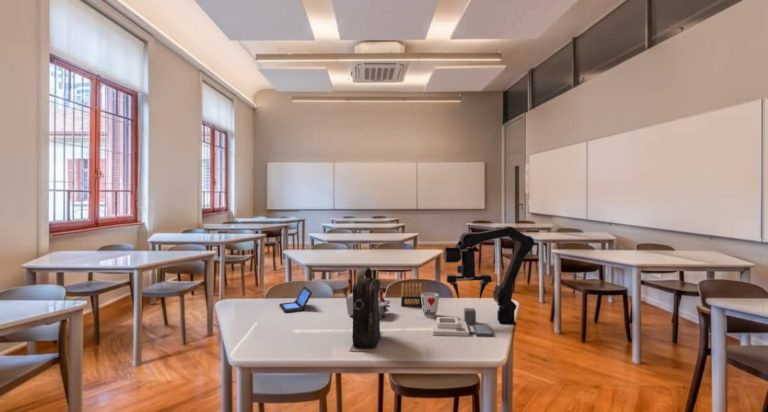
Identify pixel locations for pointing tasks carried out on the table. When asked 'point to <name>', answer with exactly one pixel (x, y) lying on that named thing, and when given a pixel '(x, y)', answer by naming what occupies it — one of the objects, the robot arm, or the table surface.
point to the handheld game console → (297, 302)
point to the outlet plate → (450, 327)
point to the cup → (429, 304)
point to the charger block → (470, 316)
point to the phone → (483, 330)
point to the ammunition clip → (411, 296)
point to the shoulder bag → (366, 312)
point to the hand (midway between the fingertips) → (469, 298)
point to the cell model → (382, 303)
